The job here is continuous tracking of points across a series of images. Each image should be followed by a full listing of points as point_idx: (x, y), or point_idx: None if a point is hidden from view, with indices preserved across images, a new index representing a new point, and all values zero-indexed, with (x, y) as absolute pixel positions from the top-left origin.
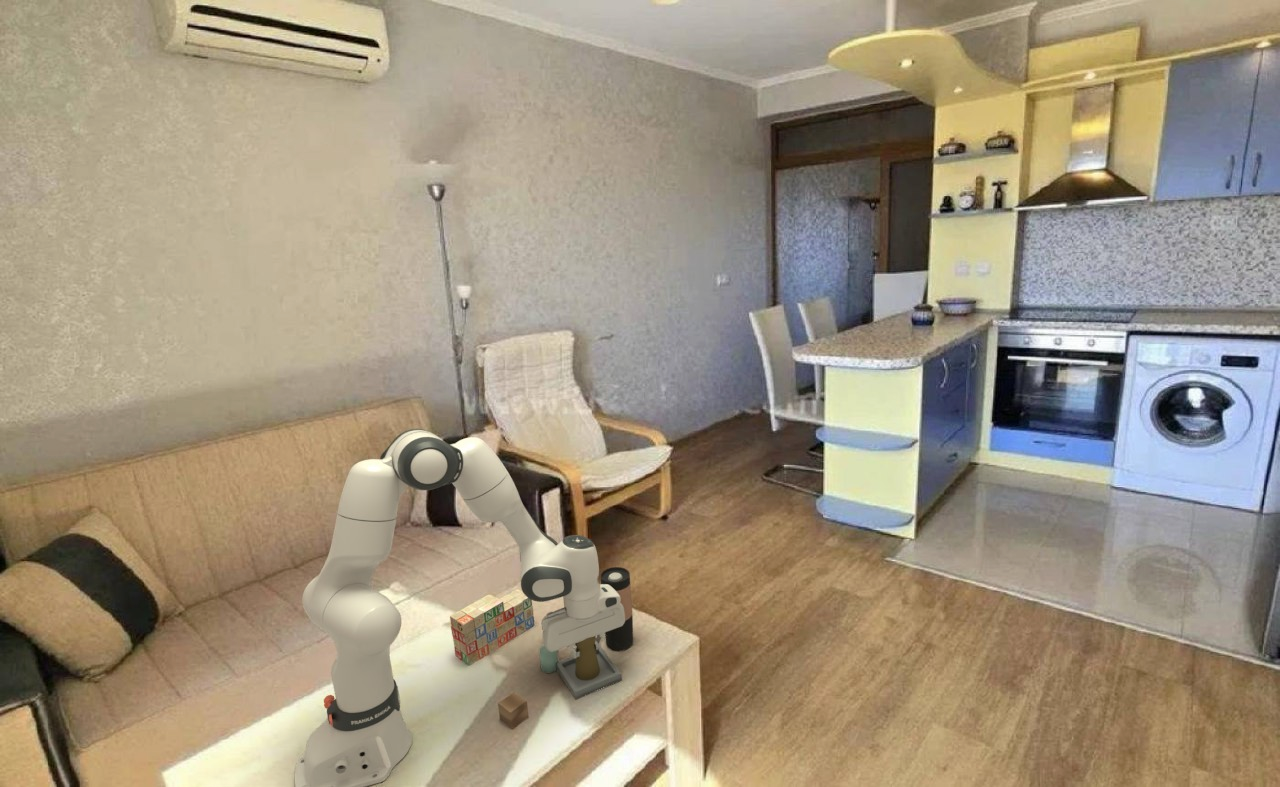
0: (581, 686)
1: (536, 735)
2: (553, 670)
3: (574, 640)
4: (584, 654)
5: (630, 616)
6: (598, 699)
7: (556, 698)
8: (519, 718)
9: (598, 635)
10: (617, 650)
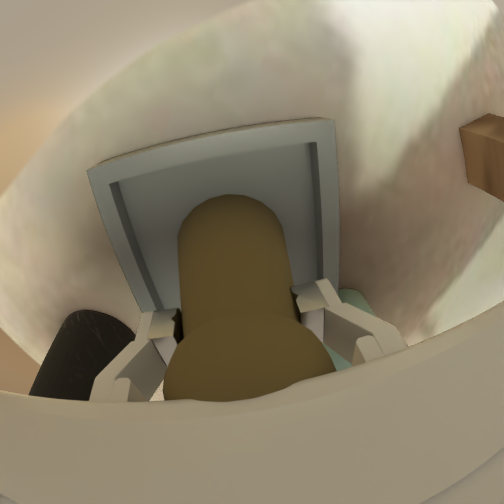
0: (295, 143)
1: (455, 51)
2: (340, 293)
3: (400, 383)
4: (266, 285)
5: None
6: (226, 78)
7: (378, 160)
8: (488, 123)
9: (144, 390)
10: (105, 316)
